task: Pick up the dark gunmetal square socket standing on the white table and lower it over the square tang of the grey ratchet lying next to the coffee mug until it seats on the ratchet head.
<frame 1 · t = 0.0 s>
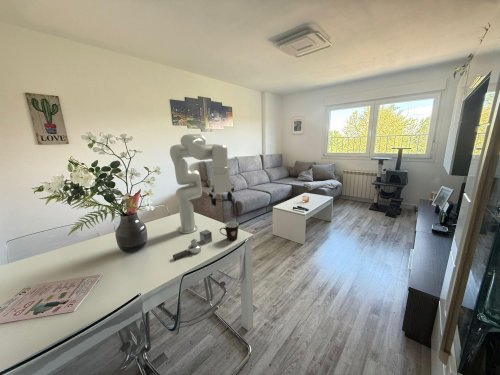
hand: (222, 202, 106), 31 cm above the table, fingers open, 9 cm apart
socket: (206, 240, 131), on the table
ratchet: (194, 251, 119), on the table
coffee mug: (230, 238, 133), on the table
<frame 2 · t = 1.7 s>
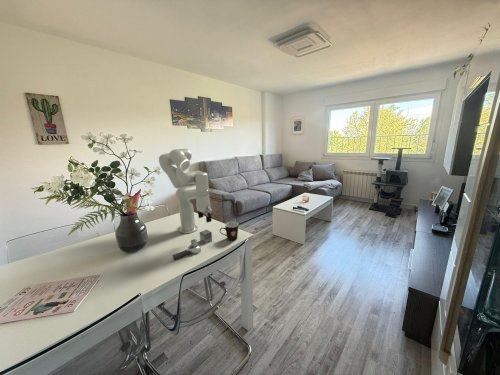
hand: (204, 219, 127), 15 cm above the table, fingers open, 9 cm apart
nothing on the table moved.
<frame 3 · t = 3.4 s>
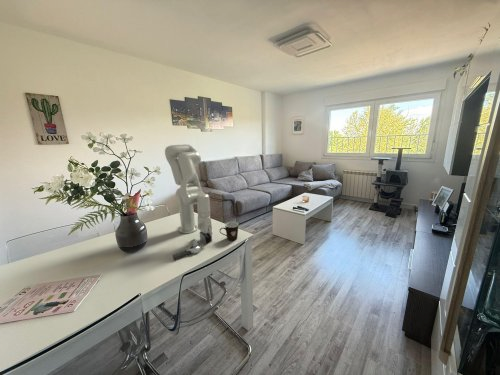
hand: (206, 239, 131), 1 cm above the table, fingers closed on socket, 5 cm apart
socket: (206, 240, 131), on the table, touching gripper
everything else where it was.
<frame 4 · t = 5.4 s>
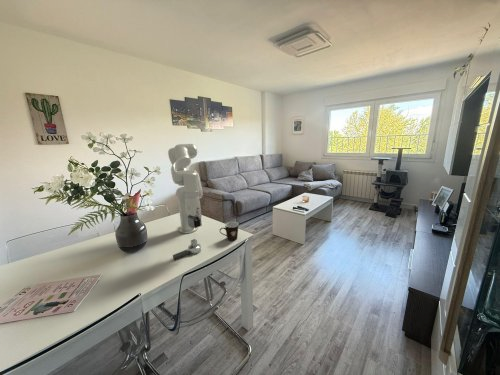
hand: (194, 224, 117), 16 cm above the table, fingers closed on socket, 5 cm apart
socket: (195, 225, 117), point 15 cm above the table, touching gripper
everything else where it was.
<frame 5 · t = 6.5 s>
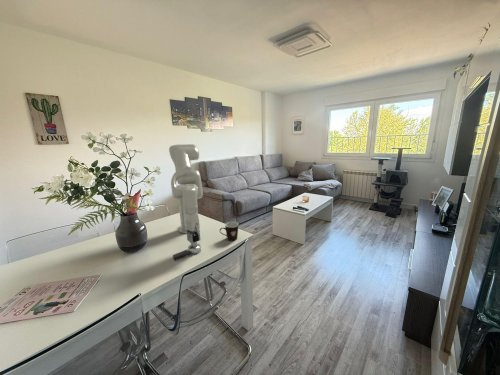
hand: (193, 239, 117), 8 cm above the table, fingers closed on socket, 5 cm apart
socket: (193, 240, 117), point 7 cm above the table, touching gripper
everything else where it was.
when the fingers open (5 cm above the table, at t = 7.5 s): socket stays where it is, resting on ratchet.
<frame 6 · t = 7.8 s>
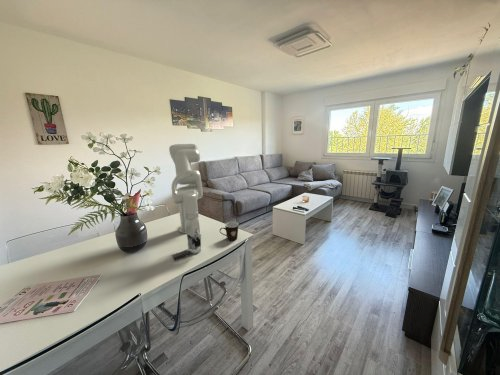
hand: (194, 243, 118), 5 cm above the table, fingers open, 8 cm apart
socket: (194, 246, 119), point 3 cm above the table, touching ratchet
everything else where it was.
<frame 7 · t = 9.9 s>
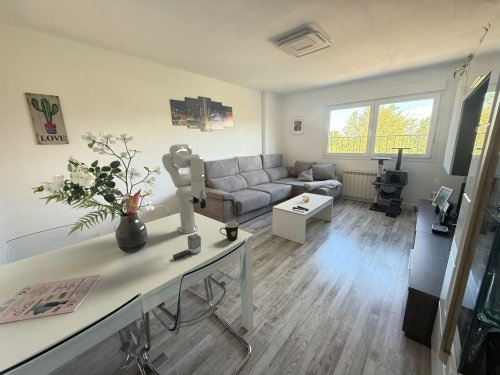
hand: (199, 205, 123), 25 cm above the table, fingers open, 9 cm apart
nothing on the table moved.
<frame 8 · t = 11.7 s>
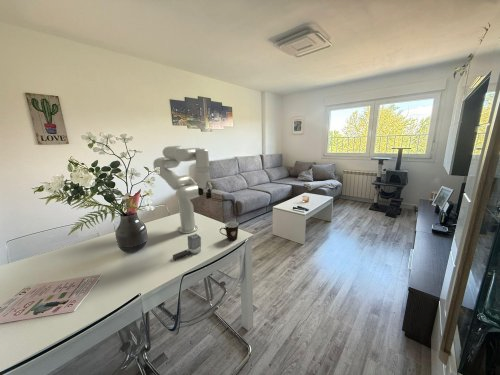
hand: (204, 196, 128), 28 cm above the table, fingers open, 9 cm apart
nothing on the table moved.
at the end: socket 0.1 cm off-centre on the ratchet, point 3.2 cm above the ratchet's base; socket tilted 4°; the gripper is holding nothing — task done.
